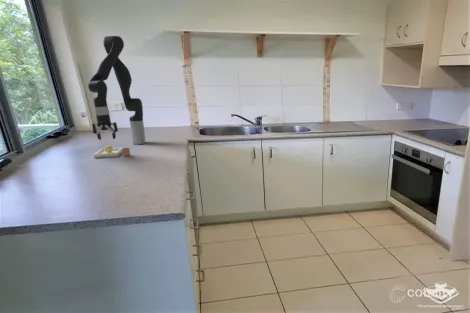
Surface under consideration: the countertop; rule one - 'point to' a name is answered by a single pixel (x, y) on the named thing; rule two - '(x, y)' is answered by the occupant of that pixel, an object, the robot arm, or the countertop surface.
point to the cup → (125, 152)
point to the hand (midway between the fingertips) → (107, 139)
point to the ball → (108, 149)
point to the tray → (103, 154)
